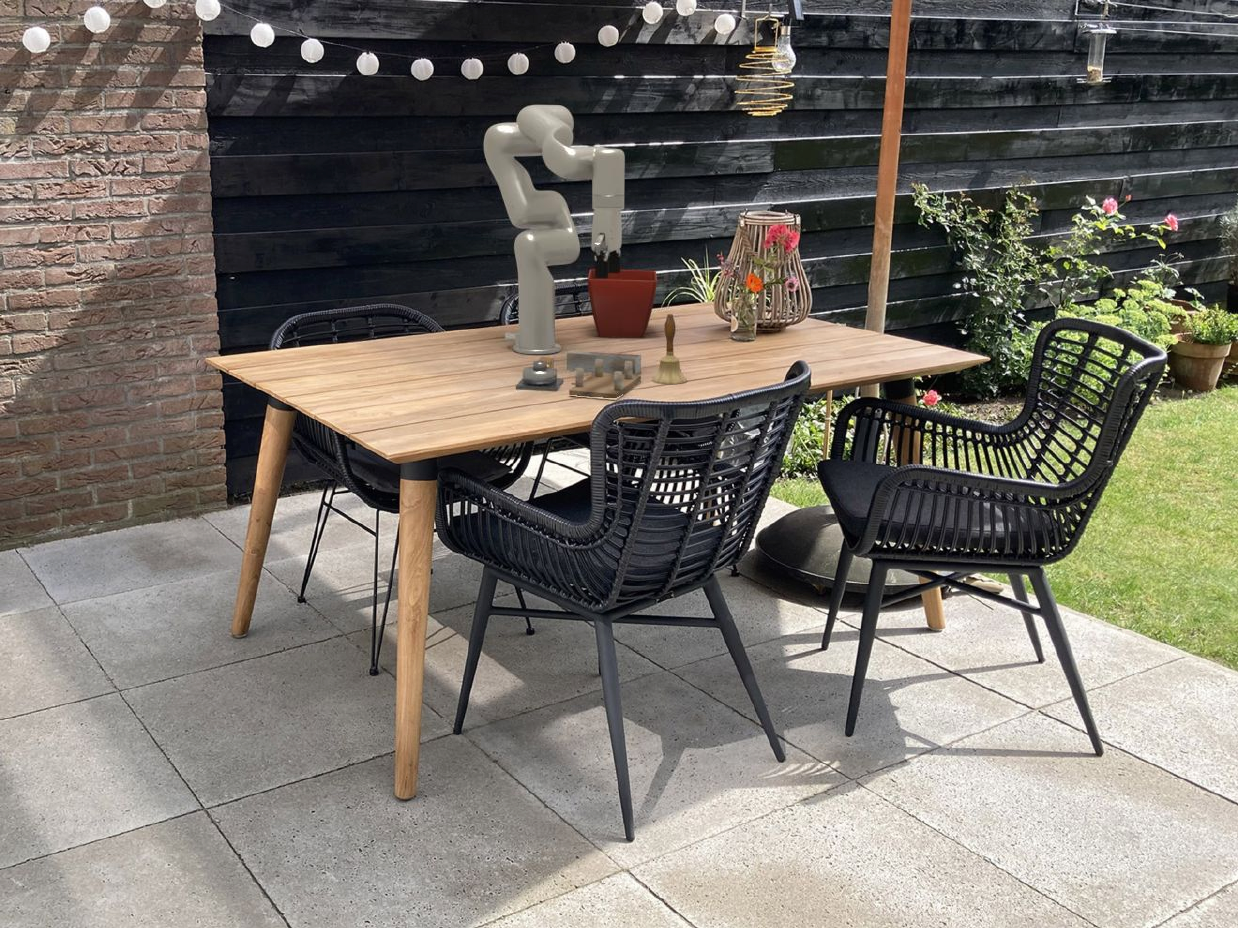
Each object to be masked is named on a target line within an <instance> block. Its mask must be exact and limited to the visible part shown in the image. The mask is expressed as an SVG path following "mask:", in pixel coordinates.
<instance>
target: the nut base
mask: <svg viewBox="0 0 1238 928" xmlns="http://www.w3.org/2000/svg"><path fill="white" fill-rule="evenodd" d="M563 383H564V378H560V377H559V378H558V377H557V381H556V382H555V383H550V384H530V383H525V382H523V377H522V378H521V379H520V380H519V381H518V383H517V384H516V385H515V390H526V391H527V390H528V391H529V390H530V391H547V392H557V391H558V390H559V389H560V387H561V386H562V384H563ZM560 385H561V386H560Z"/></svg>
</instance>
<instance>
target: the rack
mask: <svg viewBox="0 0 1238 928" xmlns="http://www.w3.org/2000/svg"><path fill="white" fill-rule="evenodd" d="M632 363H633V362H632V361H625V374H622V372H621V371H615V372H614V373H603V359H595V373H592V375H590V376H589V377H587V378H586V379H585V378H584V373H585V372H584V369H583V368H576V372H575V383H576V384H575V385H574V386H573V387H572V388H570V389H569V391H568V396H569V395H577V396H589V397H603V398H617V397H619V396H621V395H622V394H624V393H625V394H626V393H628V392H629V391H631V390H632V389H633V388H634V386H635V387H636V386H637V385H639V384H640V383H641V381H642V377H641V375H632ZM639 382H640V383H639ZM638 383H639V384H638ZM630 389H631V390H630ZM625 394H624V395H625ZM621 397H622V396H621ZM612 401H614V400H612Z"/></svg>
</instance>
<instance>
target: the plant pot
mask: <svg viewBox="0 0 1238 928" xmlns="http://www.w3.org/2000/svg"><path fill="white" fill-rule="evenodd" d="M586 280H587V289H588V290H587V291H588V294H589V295H588V297H589V303H590V307H591V314H592V319H593V322H594V326H595V329H596V332H597V336H598V337H599V338H631V339H632V338H634V339H636V338H637V339H638V338H640V339H641V338H644V337H645V335H646V332H647V329H648V326H649V322H650V319H651V314H652V312H653V307H654V302H655V297H656V292H657V284H658V278H657V271H656V270H640V269H639V270H638V269H637V270H635V269H632V270H631V269H620V273H609V277H608V278H595V268H594V269H589V273H588V277H587V279H586Z"/></svg>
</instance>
